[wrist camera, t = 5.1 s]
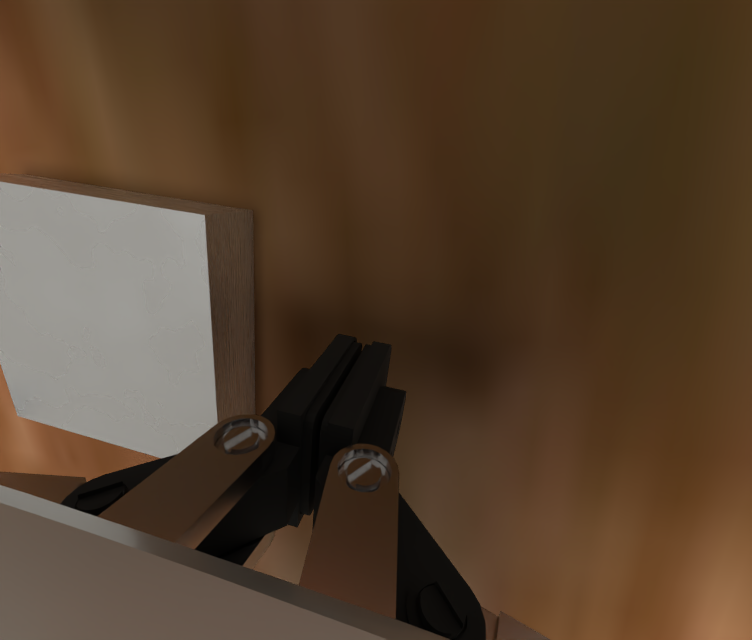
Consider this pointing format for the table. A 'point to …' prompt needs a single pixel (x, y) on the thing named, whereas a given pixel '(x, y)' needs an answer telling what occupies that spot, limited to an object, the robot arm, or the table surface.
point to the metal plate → (125, 312)
